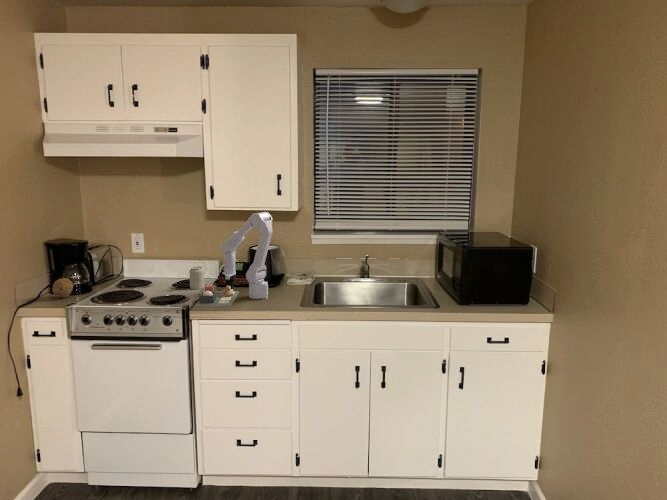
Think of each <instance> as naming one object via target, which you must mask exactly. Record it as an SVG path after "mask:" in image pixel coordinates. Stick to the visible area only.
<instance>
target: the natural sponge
mask: <svg viewBox="0 0 667 500" xmlns="http://www.w3.org/2000/svg"><path fill="white" fill-rule="evenodd" d="M73 289H74V284H73V282H72V280H71V279H69V278H64V277H61V278H58V279H57V280H55V281H54V283H53V284H52V288H51V290H52V293H53V294H54V295H55V296H58V297H60V298H63V299H66V298H68V297H69V296H70V295H71V293H73Z"/></svg>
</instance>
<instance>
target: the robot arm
mask: <svg viewBox="0 0 667 500" xmlns="http://www.w3.org/2000/svg"><path fill="white" fill-rule="evenodd" d="M273 219H274V218H273V216H272V215H271V214H270V213H269V212H268V211H263V212H254V213H252V214H251V215H250V216H249V217H248V219H247V220H246V222H245V223H244V225H243V226H242V227H241V228H240V230H237V231H233V232H232V235H231V236H230V237H229V238H227V240H226V241H223V242H222V243H221V246H220V247H221V251H222V252H223V267H224V268H223V270H224V271H222V272H221V274H222V275H224V277H223V279H224V281H225V284H226V286H230V287H231V289H233V290H234V285H235V284H234V283H235V281H236V277H237V275H236V274H237V272H236V254H237V251H238V246H240V245H241V244H242V242H243V241H244V240H245V236H246V234H248V233H249V232H250V231H252V229H253V228H255V229H256V230H257V231H258V232H259V234H260V235H259V239H258V241H257V247H256V249H255V250H256V251H255V255H254V259H253V262H252V264H251V265H250V266H249V268H248V270H247V271H246V273H245V278H246V280H247V282H248V298H249V299H252V300H253V299H254V300H259V299H266V301H267V300H268V298H269V284H268V283H269V282H268V281H265V278H267V277H266V276H267V266H266V264H265V263H266V261H267V260H266V259H267V256H268V251H269V248H270V244H271V240H272V236H273Z"/></svg>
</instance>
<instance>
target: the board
mask: <svg viewBox="0 0 667 500" xmlns="http://www.w3.org/2000/svg"><path fill="white" fill-rule="evenodd" d="M204 292H205V291H202V292H201V294H199V299H198V301H197V302H196V303H195V304H194V306H195V307H231V306H232V305H233V303H234V302H235V300H236V299H237V297H238V296H239V293H240V291H238V290H235V291H234V290H233V296H232V297H224V296H223V290H214V292H212V293H213V296H203V293H204Z"/></svg>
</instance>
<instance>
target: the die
mask: <svg viewBox="0 0 667 500" xmlns="http://www.w3.org/2000/svg"><path fill="white" fill-rule="evenodd" d="M205 291H211V292H214V291H215V285H214V284H209V285H208V284H206V285H204V292H205Z"/></svg>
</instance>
